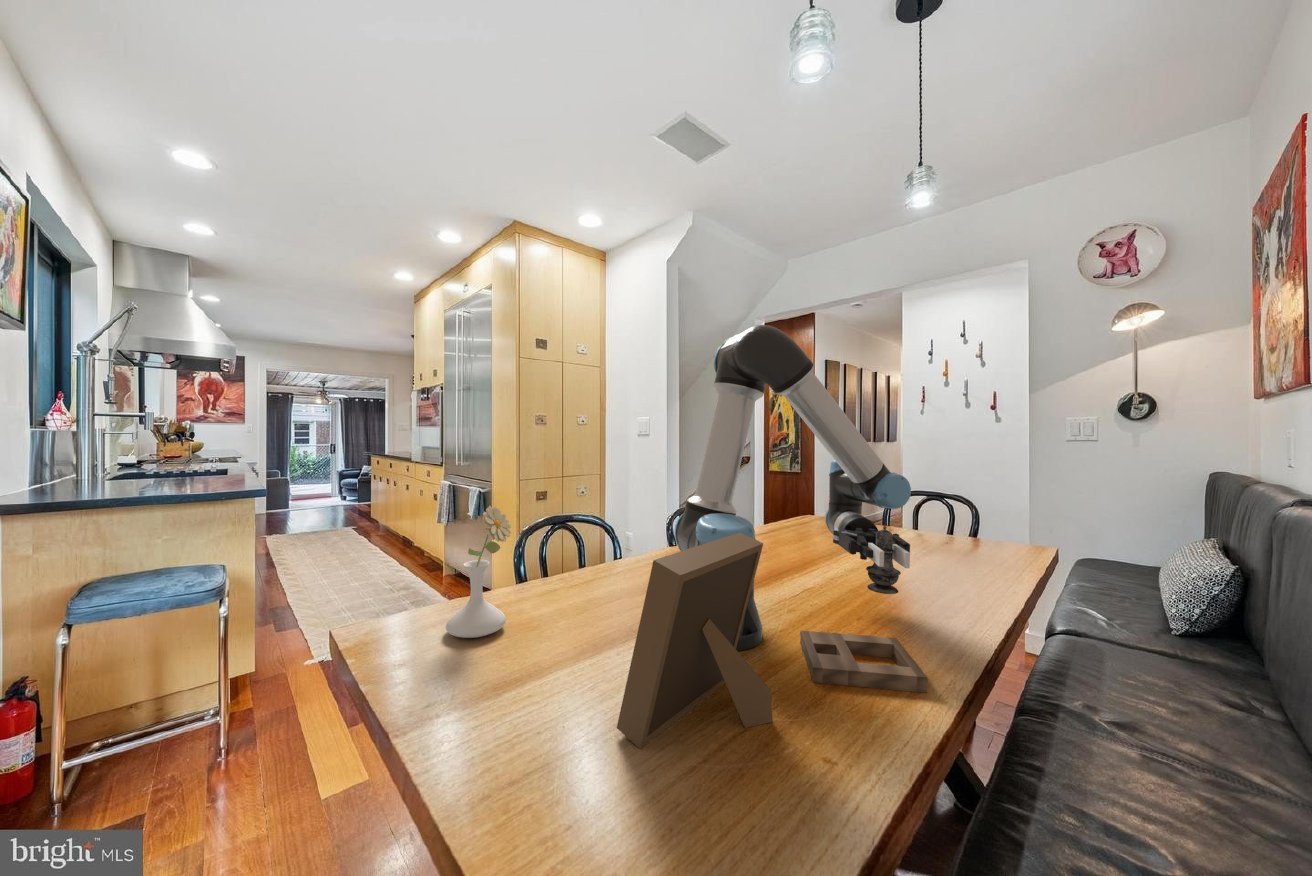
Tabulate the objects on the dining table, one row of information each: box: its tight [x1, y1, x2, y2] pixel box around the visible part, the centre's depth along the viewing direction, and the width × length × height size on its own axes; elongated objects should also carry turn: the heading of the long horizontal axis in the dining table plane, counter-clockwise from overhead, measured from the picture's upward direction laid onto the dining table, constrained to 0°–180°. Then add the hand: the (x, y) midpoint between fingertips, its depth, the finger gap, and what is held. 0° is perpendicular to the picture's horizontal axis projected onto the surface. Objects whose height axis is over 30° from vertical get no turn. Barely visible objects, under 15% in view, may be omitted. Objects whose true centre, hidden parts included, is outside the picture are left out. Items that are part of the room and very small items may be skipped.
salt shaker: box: [865, 525, 902, 595], centre depth 89 cm, size 6×6×12 cm
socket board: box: [799, 630, 928, 694], centre depth 85 cm, size 18×14×2 cm
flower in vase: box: [445, 505, 512, 639], centre depth 97 cm, size 13×11×25 cm
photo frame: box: [616, 533, 774, 750], centre depth 68 cm, size 15×22×25 cm
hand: (894, 559), depth 84 cm, fingers closed on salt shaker, 4 cm apart
